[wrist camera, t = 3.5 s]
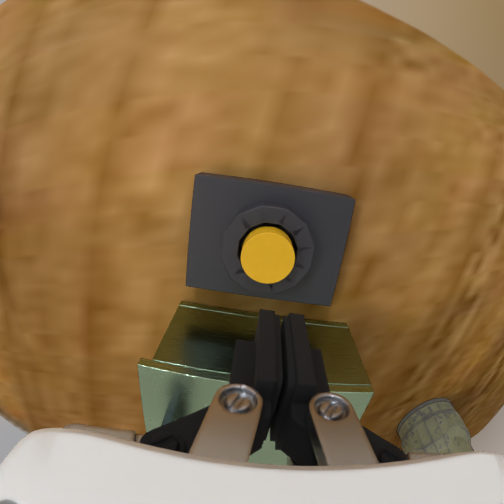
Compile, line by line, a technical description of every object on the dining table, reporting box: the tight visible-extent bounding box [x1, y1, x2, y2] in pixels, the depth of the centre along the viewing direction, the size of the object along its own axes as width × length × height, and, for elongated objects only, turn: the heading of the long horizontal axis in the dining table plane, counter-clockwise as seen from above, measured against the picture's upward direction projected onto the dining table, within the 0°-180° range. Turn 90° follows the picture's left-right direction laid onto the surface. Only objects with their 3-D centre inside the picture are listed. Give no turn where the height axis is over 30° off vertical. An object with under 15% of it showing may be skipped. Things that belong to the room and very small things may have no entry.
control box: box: [186, 172, 355, 306], centre depth 24 cm, size 12×9×4 cm
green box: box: [152, 301, 371, 386], centre depth 26 cm, size 16×14×9 cm
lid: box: [138, 358, 374, 465], centre depth 19 cm, size 16×14×5 cm
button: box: [241, 226, 295, 284], centre depth 21 cm, size 4×4×2 cm
